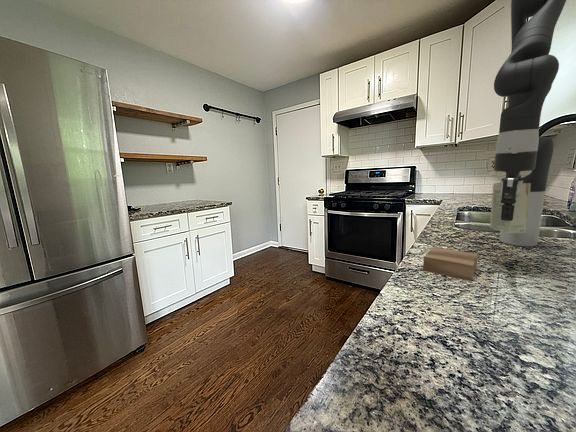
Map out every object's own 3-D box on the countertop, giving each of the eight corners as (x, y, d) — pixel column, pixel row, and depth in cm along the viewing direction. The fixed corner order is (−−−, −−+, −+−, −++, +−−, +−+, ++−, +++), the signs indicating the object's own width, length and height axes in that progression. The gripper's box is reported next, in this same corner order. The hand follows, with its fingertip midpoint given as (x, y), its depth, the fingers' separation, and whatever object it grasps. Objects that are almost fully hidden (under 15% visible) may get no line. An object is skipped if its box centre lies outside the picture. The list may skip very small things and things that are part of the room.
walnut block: (432, 260, 70) (433, 247, 70) (476, 268, 64) (477, 253, 63) (422, 271, 63) (423, 256, 62) (471, 282, 56) (473, 265, 56)
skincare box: (526, 233, 61) (533, 183, 58) (508, 234, 61) (514, 184, 58) (504, 227, 67) (509, 181, 65) (488, 227, 67) (492, 182, 65)
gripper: (498, 152, 68) (492, 211, 71) (492, 152, 58) (485, 221, 61) (537, 149, 62) (529, 214, 65) (537, 149, 52) (527, 224, 56)
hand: (507, 217), depth 63 cm, fingers closed on skincare box, 7 cm apart
